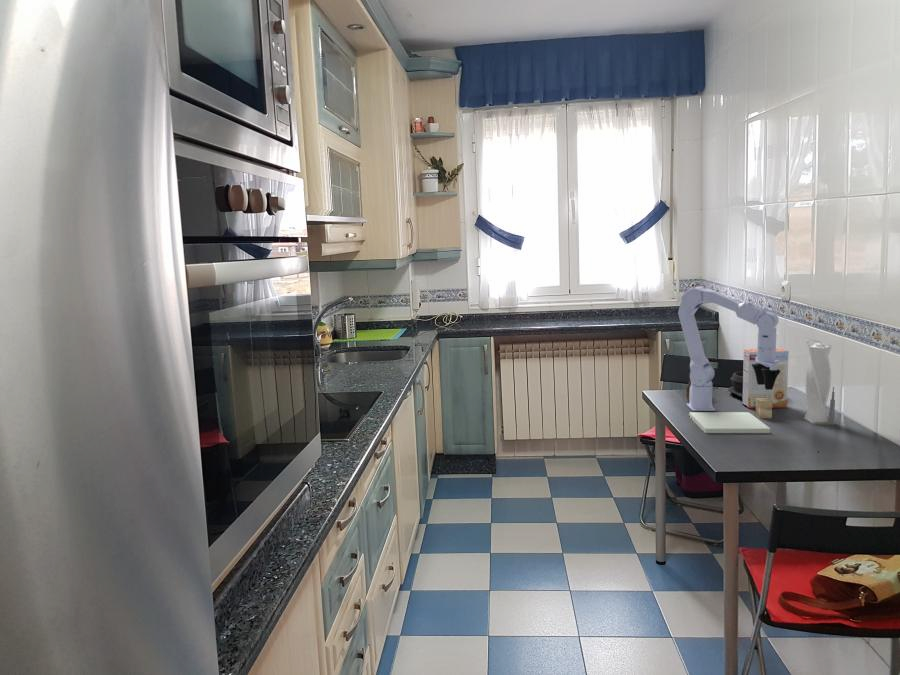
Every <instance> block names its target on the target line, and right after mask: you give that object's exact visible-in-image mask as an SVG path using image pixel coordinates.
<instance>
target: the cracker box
mask: <svg viewBox="0 0 900 675" xmlns="http://www.w3.org/2000/svg"><path fill="white" fill-rule="evenodd" d="M789 352H790V351H789V350H787V349H784V348H776V356H775V360H778V361H779V363H776V364H777V369H779V370H780V373H779V374H778V376H777V378H776V380H775V383H774V386H773V389H772V390H766V389H765V384H764V385H758V384H757V380H756V374H755V371H754V369H753V367H752V364H756V362H755V360H756V357H757V348H756V349H755V348H753V349H743V364H742V366H743V368H742V369H743V370H742V371H743V397H742V405H743V404H744V405H746V406H747V407H748V409H756V398H769V399H770V400H772V409H775V408H782V409H783V408H787V407H788V406H787V404H788V403H787V402H788V383H789V382H788V380H789ZM744 405H743V406H744ZM747 407H746V408H747Z"/></svg>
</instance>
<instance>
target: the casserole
mask: <svg viewBox="0 0 900 675" xmlns="http://www.w3.org/2000/svg"><path fill="white" fill-rule="evenodd" d="M730 380H731V383H732V386H729V387H728V388H727V391H728V392H729V393H732V394H734V395H736V396H738V397H741V398H743V370H740V371H736V372H734V373H733V374H732V376H731V377H730Z"/></svg>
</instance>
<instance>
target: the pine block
mask: <svg viewBox="0 0 900 675" xmlns="http://www.w3.org/2000/svg"><path fill="white" fill-rule="evenodd" d="M756 415H757V416H758V417H757V416H756ZM755 416H756V417H757V418H758V419H772V418H773V408H772V400H770V399H769V398H756V408H755Z"/></svg>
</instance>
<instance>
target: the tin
mask: <svg viewBox="0 0 900 675" xmlns="http://www.w3.org/2000/svg"><path fill="white" fill-rule="evenodd" d="M690 386H691V380H689V382H688V383H687V386H686V393H685V395H686V400H687V401H688V402H689V390H690Z"/></svg>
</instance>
